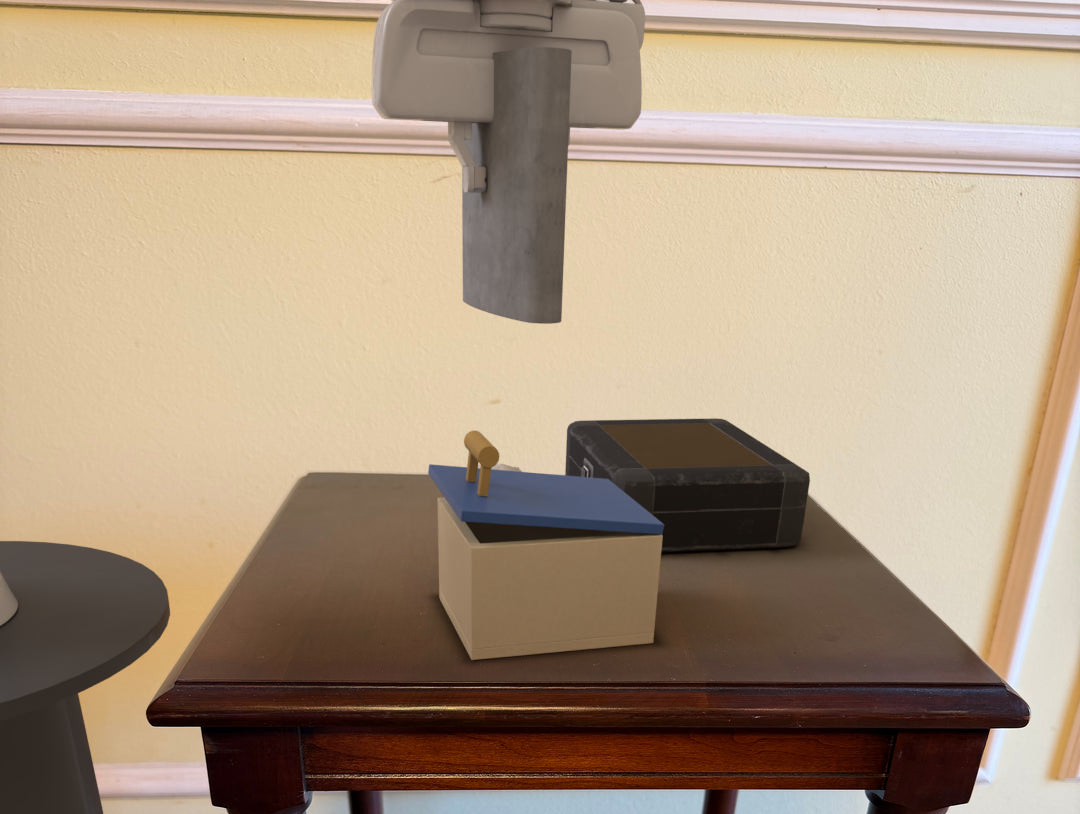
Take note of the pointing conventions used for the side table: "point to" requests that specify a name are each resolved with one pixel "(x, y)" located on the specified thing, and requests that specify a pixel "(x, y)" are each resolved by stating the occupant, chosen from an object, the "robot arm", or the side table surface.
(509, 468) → the arrowhead
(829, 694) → the side table surface
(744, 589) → the side table surface
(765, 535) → the cash box
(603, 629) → the chest
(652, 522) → the lid
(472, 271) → the hip flask
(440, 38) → the robot arm
